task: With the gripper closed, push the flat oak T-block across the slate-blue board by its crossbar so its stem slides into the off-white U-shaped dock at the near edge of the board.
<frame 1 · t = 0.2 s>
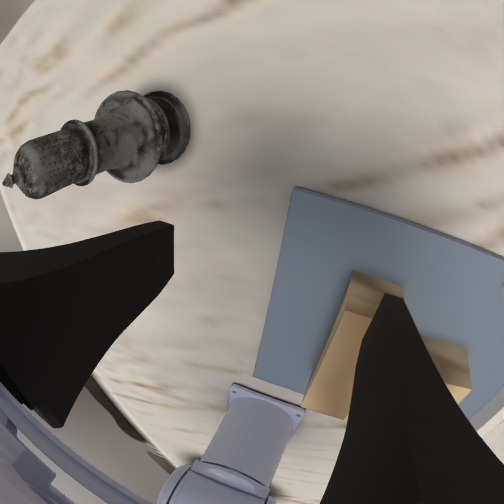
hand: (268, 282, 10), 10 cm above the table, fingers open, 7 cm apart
salt shaker: (159, 127, 20), on the table
board: (419, 348, 20), on the table
t block: (396, 347, 20), point 1 cm above the table, touching board
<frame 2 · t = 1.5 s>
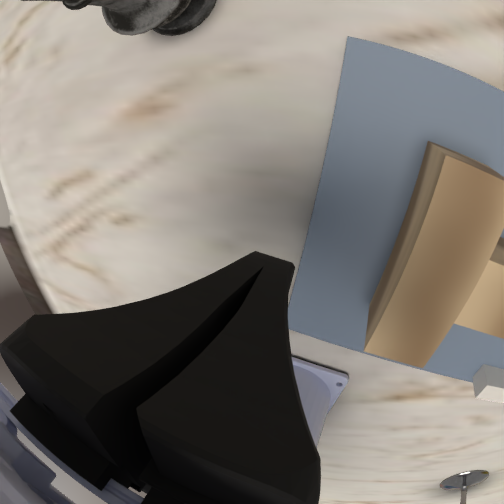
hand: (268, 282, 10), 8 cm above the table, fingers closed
board: (502, 265, 14), on the table
silver goblet: (464, 479, 24), on the table
t block: (480, 260, 14), point 1 cm above the table, touching board
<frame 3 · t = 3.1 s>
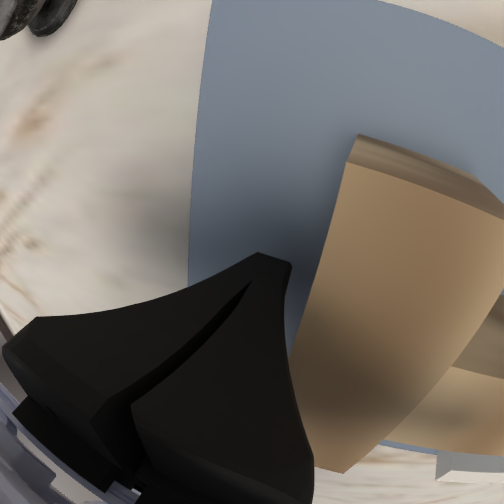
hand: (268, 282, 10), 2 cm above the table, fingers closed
board: (487, 327, 9), on the table
t block: (453, 325, 9), point 1 cm above the table, touching gripper
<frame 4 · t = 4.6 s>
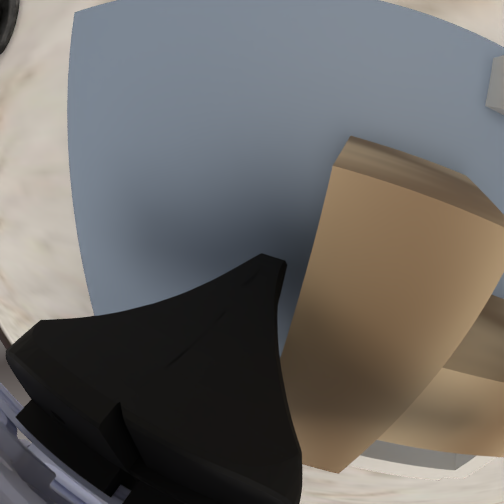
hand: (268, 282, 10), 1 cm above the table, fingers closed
salt shaker: (4, 20, 10), on the table
board: (329, 275, 11), on the table
t block: (448, 326, 9), point 1 cm above the table, touching board, dock, gripper
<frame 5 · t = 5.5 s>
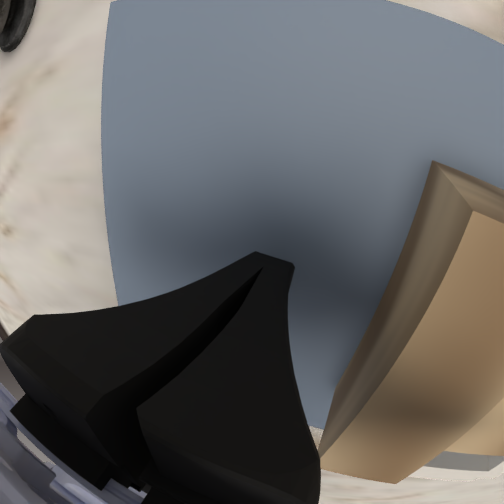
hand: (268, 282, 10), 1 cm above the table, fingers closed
salt shaker: (18, 12, 10), on the table
board: (393, 294, 10), on the table
t block: (497, 339, 9), point 1 cm above the table, touching board, dock
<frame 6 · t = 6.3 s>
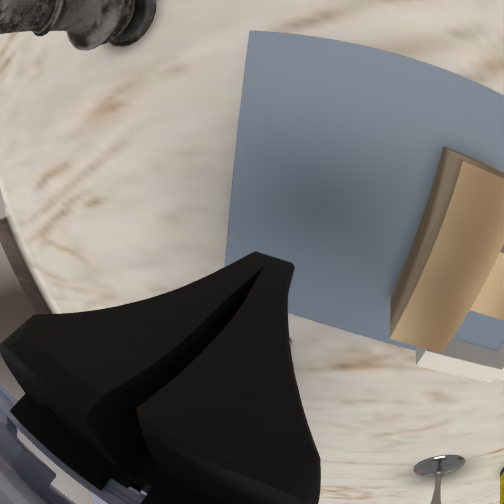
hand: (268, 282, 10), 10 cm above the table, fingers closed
salt shaker: (129, 14, 16), on the table
board: (425, 225, 16), on the table
silver goblet: (439, 465, 27), on the table
t block: (490, 254, 15), point 1 cm above the table, touching board, dock
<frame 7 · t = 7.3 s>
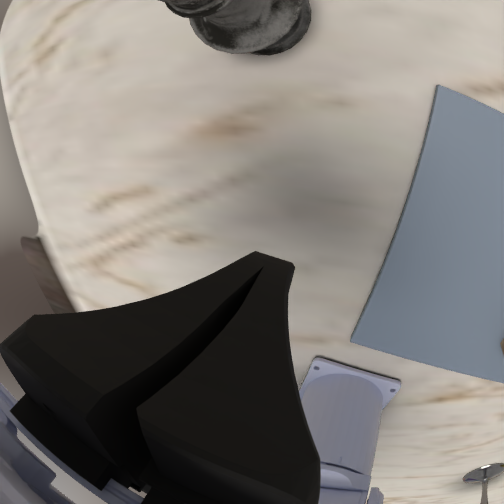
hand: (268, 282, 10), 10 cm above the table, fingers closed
salt shaker: (266, 15, 14), on the table
silver goblet: (485, 472, 25), on the table
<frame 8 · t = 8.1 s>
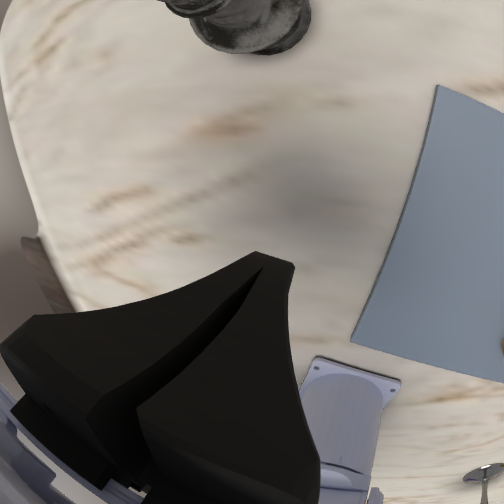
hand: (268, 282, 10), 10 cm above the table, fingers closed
salt shaker: (266, 15, 14), on the table
silver goblet: (485, 472, 25), on the table
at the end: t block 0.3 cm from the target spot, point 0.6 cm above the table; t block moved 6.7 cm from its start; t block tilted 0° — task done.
